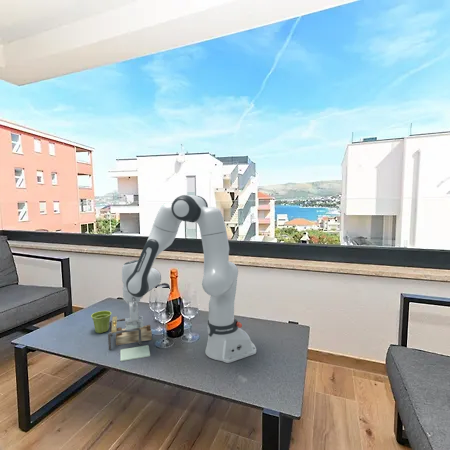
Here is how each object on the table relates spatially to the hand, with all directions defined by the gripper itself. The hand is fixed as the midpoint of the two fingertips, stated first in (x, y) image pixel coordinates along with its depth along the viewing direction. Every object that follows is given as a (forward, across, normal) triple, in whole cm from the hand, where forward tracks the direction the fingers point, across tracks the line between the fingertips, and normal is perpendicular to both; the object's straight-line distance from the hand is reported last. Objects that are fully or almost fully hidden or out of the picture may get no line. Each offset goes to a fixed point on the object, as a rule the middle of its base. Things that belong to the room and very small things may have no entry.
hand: (134, 322), depth 138 cm
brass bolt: (0, 0, +9) cm, 9 cm away
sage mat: (+8, -14, 0) cm, 16 cm away
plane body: (+8, 0, +2) cm, 8 cm away
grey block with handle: (+2, 0, 0) cm, 2 cm away
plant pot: (+8, +14, +16) cm, 23 cm away
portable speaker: (+8, +17, -16) cm, 25 cm away
